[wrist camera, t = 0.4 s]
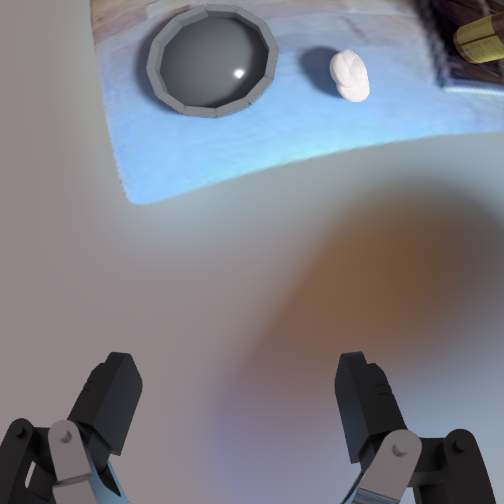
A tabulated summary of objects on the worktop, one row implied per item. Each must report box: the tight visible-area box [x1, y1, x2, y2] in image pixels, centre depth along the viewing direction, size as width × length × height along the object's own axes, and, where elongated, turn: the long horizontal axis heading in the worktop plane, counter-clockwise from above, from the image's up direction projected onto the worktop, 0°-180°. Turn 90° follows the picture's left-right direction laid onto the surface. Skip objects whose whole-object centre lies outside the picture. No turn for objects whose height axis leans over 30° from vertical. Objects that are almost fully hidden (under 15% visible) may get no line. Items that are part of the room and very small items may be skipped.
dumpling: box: [330, 49, 370, 102], centre depth 26 cm, size 7×5×4 cm
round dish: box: [146, 4, 279, 119], centre depth 26 cm, size 15×15×3 cm
